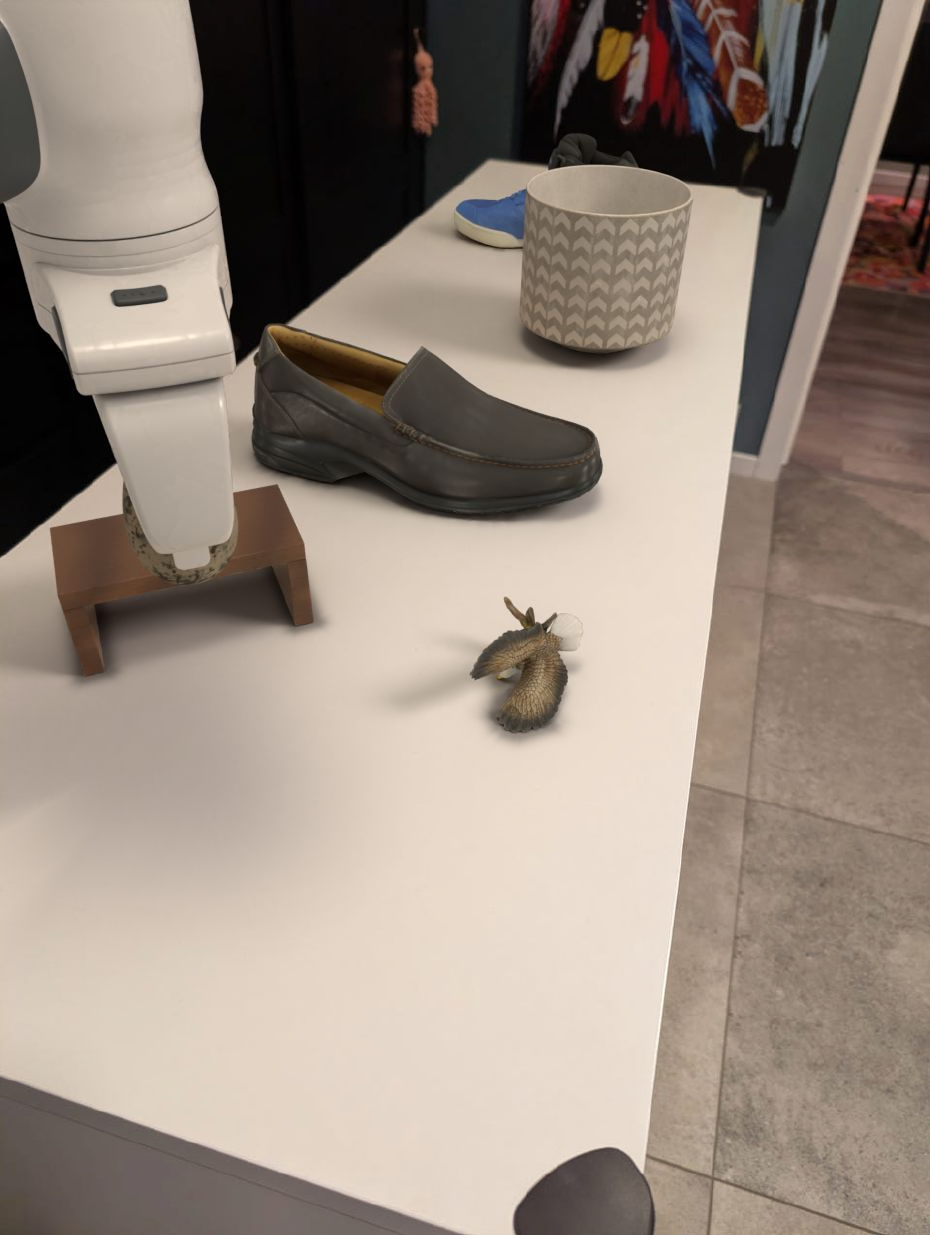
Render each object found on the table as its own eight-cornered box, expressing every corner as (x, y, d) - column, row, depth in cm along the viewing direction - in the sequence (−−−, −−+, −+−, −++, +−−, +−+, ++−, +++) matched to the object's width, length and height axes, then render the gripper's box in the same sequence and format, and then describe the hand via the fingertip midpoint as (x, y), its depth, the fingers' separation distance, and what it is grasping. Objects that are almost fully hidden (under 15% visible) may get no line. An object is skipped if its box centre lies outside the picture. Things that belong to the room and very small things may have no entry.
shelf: (84, 676, 73) (57, 595, 68) (75, 606, 80) (49, 527, 75) (313, 622, 79) (304, 543, 73) (287, 560, 85) (277, 483, 80)
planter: (660, 382, 112) (685, 223, 101) (502, 361, 116) (509, 205, 104) (676, 319, 126) (700, 172, 115) (535, 302, 130) (544, 158, 118)
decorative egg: (262, 554, 57) (240, 401, 50) (217, 617, 52) (186, 457, 46) (171, 538, 58) (138, 386, 51) (119, 597, 53) (76, 439, 47)
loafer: (588, 540, 88) (603, 412, 80) (226, 483, 94) (204, 359, 86) (607, 467, 98) (623, 347, 89) (278, 420, 104) (263, 304, 96)
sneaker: (466, 220, 155) (467, 109, 145) (645, 243, 148) (660, 128, 138) (440, 246, 146) (439, 129, 136) (629, 271, 139) (644, 150, 129)
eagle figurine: (474, 628, 76) (444, 689, 69) (529, 569, 73) (504, 626, 65) (548, 686, 77) (526, 752, 70) (605, 631, 74) (590, 694, 66)
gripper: (46, 210, 50) (105, 442, 59) (71, 377, 36) (144, 652, 45) (169, 199, 52) (208, 426, 61) (240, 354, 38) (278, 622, 46)
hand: (182, 523), depth 53 cm, fingers closed on decorative egg, 6 cm apart
